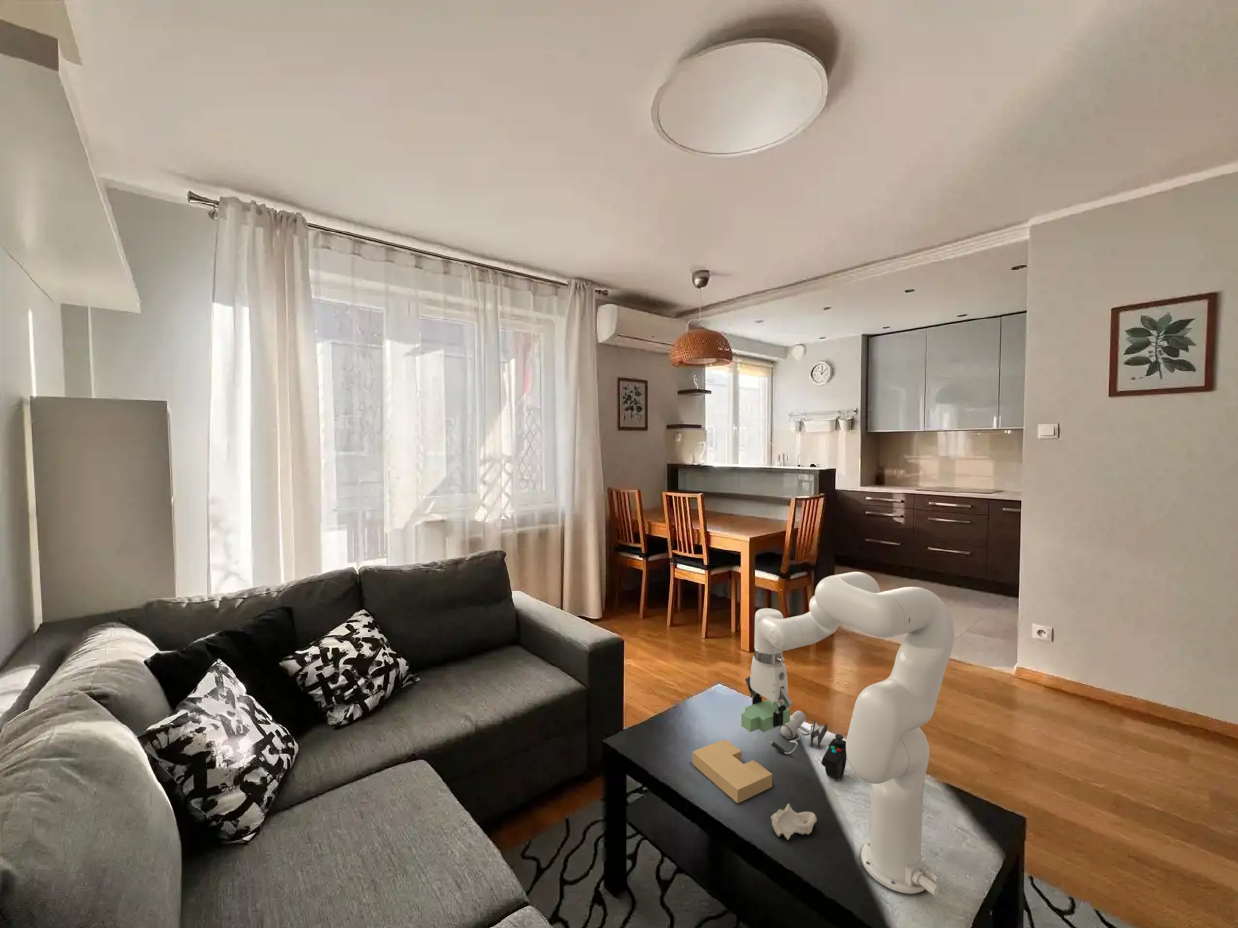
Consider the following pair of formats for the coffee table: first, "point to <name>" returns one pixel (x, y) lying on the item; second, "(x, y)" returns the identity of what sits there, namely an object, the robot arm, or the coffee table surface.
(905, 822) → the robot arm
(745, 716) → the green pad
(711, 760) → the sand pad
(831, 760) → the controller
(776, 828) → the coral
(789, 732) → the clip-on lamp
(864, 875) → the coffee table surface
